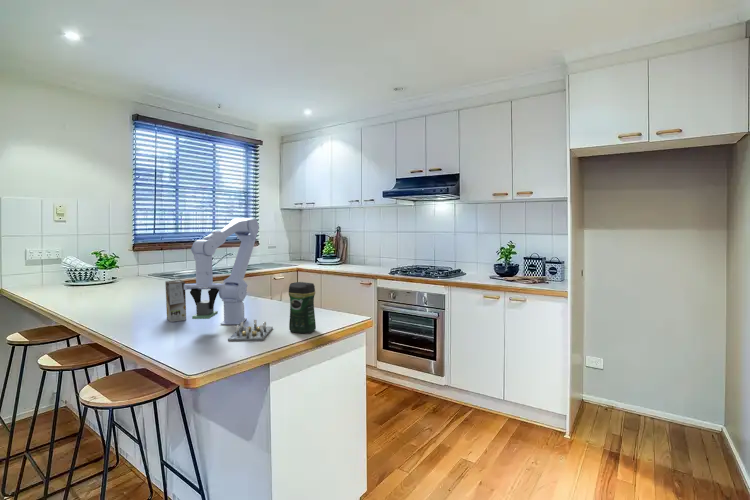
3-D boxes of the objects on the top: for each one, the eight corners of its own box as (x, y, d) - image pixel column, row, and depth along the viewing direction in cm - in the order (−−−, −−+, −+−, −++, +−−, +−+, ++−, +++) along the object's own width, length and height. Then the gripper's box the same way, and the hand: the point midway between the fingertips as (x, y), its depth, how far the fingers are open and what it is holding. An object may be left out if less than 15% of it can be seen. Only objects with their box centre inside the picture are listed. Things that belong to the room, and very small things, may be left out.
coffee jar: (319, 330, 154) (318, 281, 153) (306, 335, 147) (306, 284, 146) (298, 327, 158) (298, 280, 157) (285, 332, 151) (284, 282, 150)
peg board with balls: (241, 328, 156) (241, 318, 155) (272, 328, 156) (272, 318, 156) (228, 341, 140) (227, 329, 139) (263, 340, 140) (262, 329, 140)
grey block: (201, 313, 155) (201, 299, 155) (217, 313, 155) (217, 299, 155) (192, 318, 146) (191, 303, 146) (209, 318, 146) (208, 303, 146)
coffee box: (187, 320, 169) (185, 282, 168) (170, 322, 166) (168, 283, 165) (182, 316, 177) (181, 279, 176) (166, 318, 173) (164, 281, 172)
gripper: (179, 273, 145) (180, 311, 146) (220, 273, 146) (221, 310, 147) (187, 271, 152) (188, 307, 153) (226, 271, 153) (227, 306, 154)
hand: (205, 308), depth 151 cm, fingers closed on grey block, 4 cm apart
